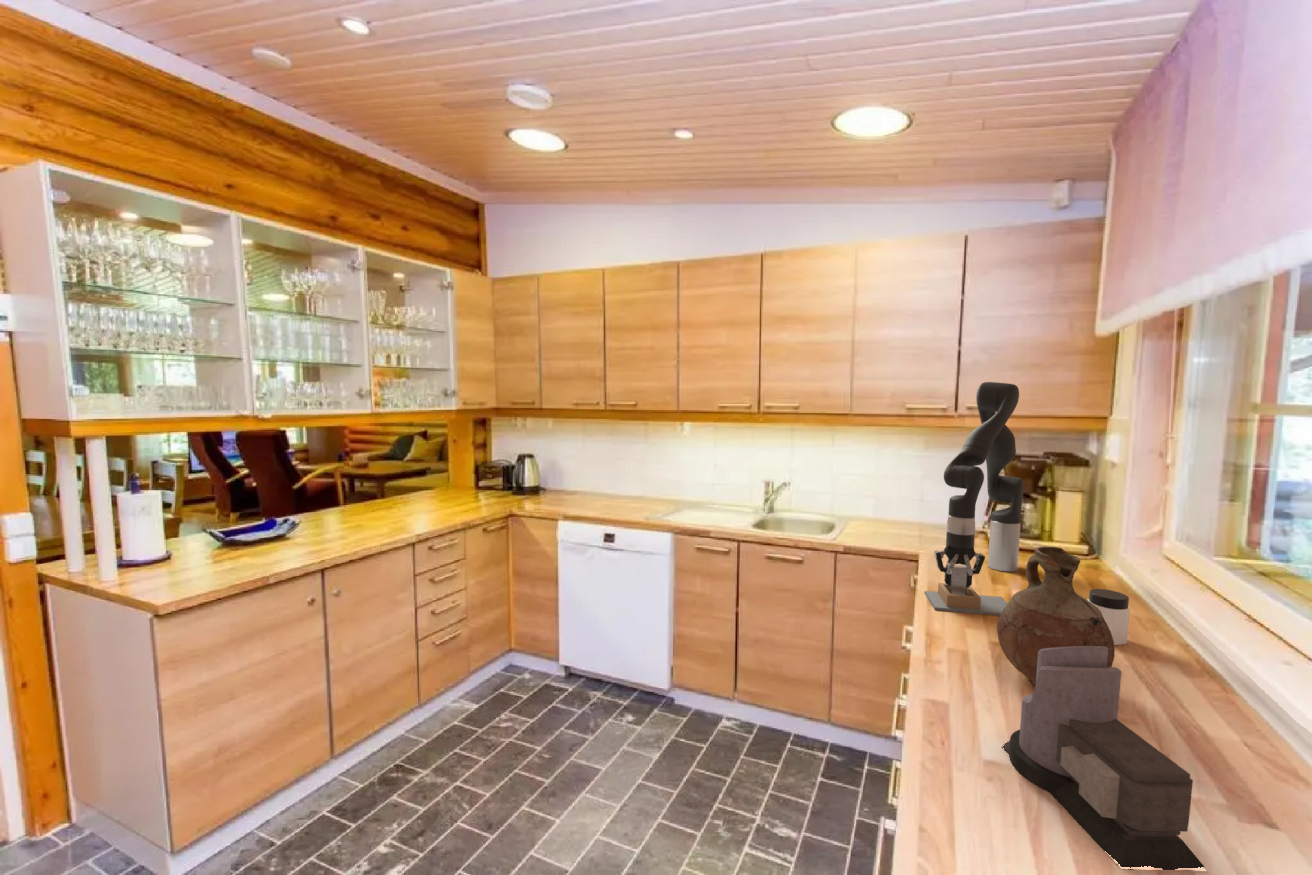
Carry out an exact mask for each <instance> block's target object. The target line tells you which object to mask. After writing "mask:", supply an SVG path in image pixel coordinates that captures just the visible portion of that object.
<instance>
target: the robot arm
mask: <svg viewBox="0 0 1312 875" xmlns="http://www.w3.org/2000/svg"><path fill="white" fill-rule="evenodd" d="M1019 398H1020V391H1019V387H1018V386H1017V385H1016V384H1014V383H1007V382H1006V383H1004V382H995V381H994V382H993V381H984V382H982V383H981V384H979V385H978V387H977V389H976V406H977V412H978V415H979V419H980V425H978V426H977V427H976V428H974V429H973V430H972V431H971V432H969V434H968V436H967V437H966V439H965V441H964V444H963V446H962V448H961V450H960V451H959V452H958V453H957V455H955V457H954V458H953V459H952V460H951V461H950V462H949V463H948V465H947V466H946V468H945V469H944V472H943V481H944V482H945V484H946V485H947V486H949V487H950V488H957V489H965V490H966V491H965V492H964V494H960V495H959V494H957V495H952V496H951V497H950V498H949V501H948V515H947V516H948V517H947V521H946V537H945V539H946V540H945V547H944V549H943V550H934V552H933V553H934V556H935V561H936V566H937V569H938V570H939V571H940V572H943V573H944V580H943V581H944V583H946V584H947V585H948V586H951V574H950V573H951V571H952V568H953V567H954V565H961V566H965V567H966V568H967V577H966V587H969V586H971V587H972V583H973V576H974V575H979V574H980V572H981V570H982V567H983V565H984V563H985V560H986V556H985V555H984V554H983V553H981V552H980V553H978V552H976V550H975V538H976V537H975V536H976V504H977V501H978V496H979V495H980V494H979V493H980V492H981V490H982V487H983V484H984V481H985V474H984V471H983V469H982V468H980V467H979V466H981V465H983V464H984V463H985V464H986V475H987V476H986V478H987V496H988V497H989V499H990V500H991V501H994V502H1001V503H1008V504H1009V503H1010V506H1008V507H1006V508H1003V509H998V510H993V511H991V513H990V523H989V541H988V554H987V556H988V558H987V567H988V568H990V569H992V570H995V571H1000V572H1009V573H1010V572H1011V573H1012V572H1017V571H1018V569H1019V567H1018V566H1019V555H1020V553H1019V552H1020V541H1021V540H1020V537H1021V522H1022V507H1023V498H1024V490H1025V483H1024V480H1023V478H1022V477H1015V476H1006V475H999V474H1000V473H1001V472H1002V470H1003V469H1004V468H1006V467H1007V466H1008V464H1010V463H1011V462H1012V461H1013V459H1014V458H1015V456H1016V453H1017V448H1016V446H1017V445H1016V437H1015V435H1014V433H1013V432H1012V430H1011V429H1010V427H1009V426H1007V425H1006V424H1007V422H1008V421H1009V419H1010V417H1011V416H1012V415H1013V412H1014V411H1015V410H1016V408H1017V406H1018V403H1019ZM944 555H945V556H946V557H947V561H946V565H945V566H944V563H943V558H944ZM972 559H975V562H974V565H973V568H972V566H971V560H972Z"/></svg>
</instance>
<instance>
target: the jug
mask: <svg viewBox="0 0 1312 875" xmlns="http://www.w3.org/2000/svg"><path fill="white" fill-rule="evenodd" d="M1080 564H1081V560H1080V558H1079V557H1078V556H1076V555H1074V554H1071V553H1069V552H1067V551H1066V550H1064V548H1062V547H1057V546H1047V545H1046V546H1045V545H1044V546H1038V547H1036V548H1034V554H1033V555H1031V556H1029V558H1028V560H1027V563H1026V567H1025V574H1026V579H1027V580H1026V581H1027V583H1028V584H1027V587H1026V588H1024V589H1022V590H1019V591H1017V592H1015V593H1014V594H1013V595H1012V597H1010V600H1009V601H1008V602H1007V604H1006V606H1005V608H1004V609H1003V611H1002V613H1001V615H1000V616H999V618H998V619H997V624H996V634H997V639H998V643H999V646H1000V648H1001V650H1002V652H1003V654H1004V655H1005V657H1006V659H1007V660H1008V661H1009V663H1011V665H1012V666H1013V667H1014V668H1015V669H1016V670H1017V671H1018V672H1020V674H1022V675H1023V676H1024V677H1026V678H1027V679H1029V681H1030V682H1031V683H1032V684H1034V685H1036V675H1037V661H1038V651H1039V650H1041V649H1045V648H1054V647H1069V646H1103V647H1107V648H1108V659H1107V667H1113V664H1114V659H1115V654H1116V653H1115V650H1116V648H1115V645H1114V641H1113V637H1112V634H1111V631H1110V629H1109V627H1108V625H1107V623H1106V622H1105V620H1104V618H1103V616H1102V613H1101V611H1100V610H1099V609H1098V608H1097V607H1096V606H1095V605H1093V604H1092V603H1091V602H1089V601H1088V600H1087V598H1085V597H1083V596H1082V595H1081V594H1078V593H1077V592H1076V591H1075V588H1074V585H1073V582H1074V581H1073V579H1074V575H1075V573H1076V572H1077V571H1078V569H1079V566H1080ZM1039 566H1040V567H1041V568H1042V569H1043V571H1044V578H1043V580H1041V578H1040V577H1039V576H1040V575H1039V568H1038V567H1039Z"/></svg>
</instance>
